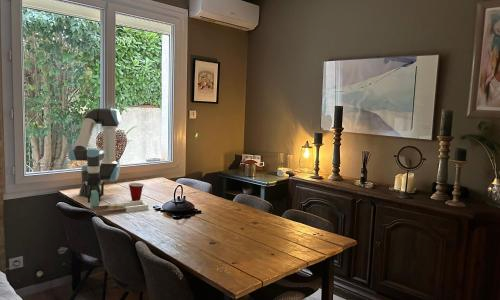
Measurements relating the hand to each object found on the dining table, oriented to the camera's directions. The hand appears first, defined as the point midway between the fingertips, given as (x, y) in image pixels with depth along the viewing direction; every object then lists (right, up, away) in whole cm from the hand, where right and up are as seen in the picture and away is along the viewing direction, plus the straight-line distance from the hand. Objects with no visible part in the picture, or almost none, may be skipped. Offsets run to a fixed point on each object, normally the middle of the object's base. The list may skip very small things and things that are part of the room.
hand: (94, 206), depth 253 cm
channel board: (+12, -2, -6) cm, 14 cm away
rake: (0, -1, 0) cm, 1 cm away
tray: (+26, -1, +2) cm, 26 cm away
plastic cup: (+21, +1, +23) cm, 31 cm away
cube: (+18, -2, -4) cm, 19 cm away
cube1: (+14, -2, -5) cm, 15 cm away
